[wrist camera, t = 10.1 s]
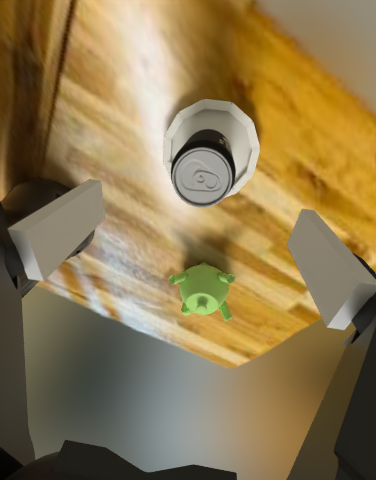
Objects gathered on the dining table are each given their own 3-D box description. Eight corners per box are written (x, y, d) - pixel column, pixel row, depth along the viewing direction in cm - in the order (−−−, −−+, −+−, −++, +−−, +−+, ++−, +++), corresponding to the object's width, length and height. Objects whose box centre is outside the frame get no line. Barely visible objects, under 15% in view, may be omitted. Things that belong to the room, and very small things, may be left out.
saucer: (164, 190, 35) (162, 193, 34) (168, 94, 28) (165, 93, 27) (244, 201, 34) (245, 205, 33) (269, 106, 27) (271, 106, 26)
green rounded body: (179, 294, 48) (172, 328, 41) (173, 253, 42) (164, 283, 35) (231, 296, 46) (233, 332, 39) (232, 253, 40) (235, 285, 33)
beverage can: (193, 120, 28) (179, 130, 18) (239, 139, 29) (249, 158, 19) (178, 168, 32) (160, 198, 22) (219, 183, 33) (219, 220, 22)
